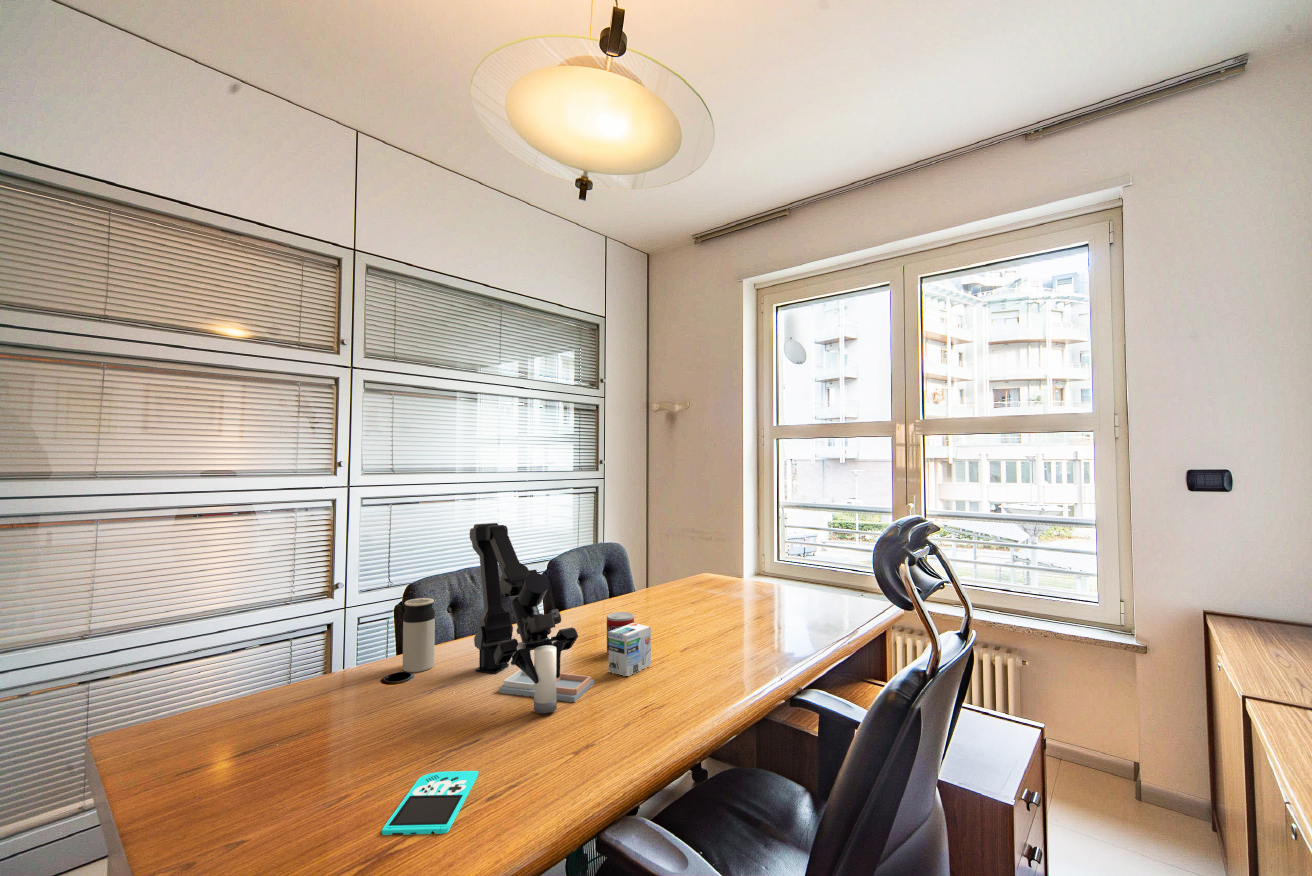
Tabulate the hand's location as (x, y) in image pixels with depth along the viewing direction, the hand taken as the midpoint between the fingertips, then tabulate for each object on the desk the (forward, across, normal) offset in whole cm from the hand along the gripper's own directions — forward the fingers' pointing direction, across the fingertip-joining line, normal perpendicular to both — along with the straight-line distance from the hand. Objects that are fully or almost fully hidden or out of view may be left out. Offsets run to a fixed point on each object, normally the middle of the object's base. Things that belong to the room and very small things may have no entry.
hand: (548, 679), depth 123 cm
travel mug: (-28, -16, +40) cm, 51 cm away
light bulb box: (-3, +30, +14) cm, 33 cm away
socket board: (-4, +6, +15) cm, 16 cm away
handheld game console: (+19, -29, -8) cm, 35 cm away
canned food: (-12, +34, +23) cm, 43 cm away
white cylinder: (+4, 0, +6) cm, 7 cm away
